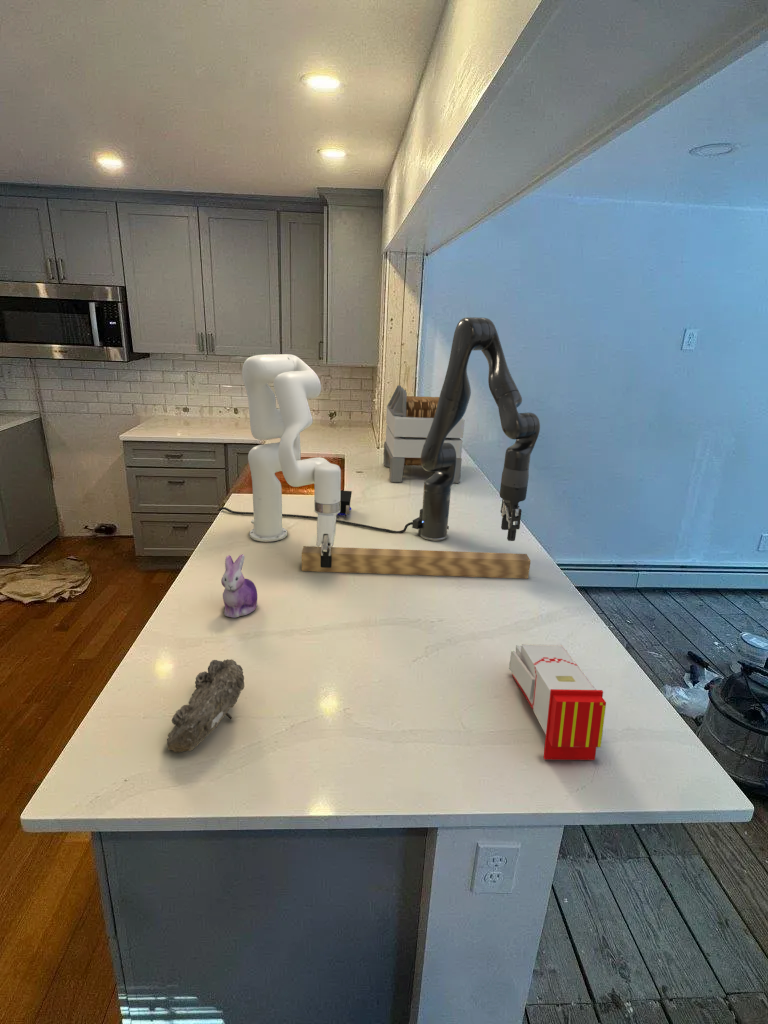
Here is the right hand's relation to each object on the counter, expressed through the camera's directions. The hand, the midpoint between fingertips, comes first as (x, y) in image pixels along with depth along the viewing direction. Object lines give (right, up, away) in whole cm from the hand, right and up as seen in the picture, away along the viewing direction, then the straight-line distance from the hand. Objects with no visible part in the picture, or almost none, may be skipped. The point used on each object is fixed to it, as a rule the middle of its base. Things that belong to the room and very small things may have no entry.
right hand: (507, 534), depth 168 cm
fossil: (-70, -32, -60) cm, 97 cm away
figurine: (-74, -19, -22) cm, 79 cm away
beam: (-27, -11, +4) cm, 30 cm away
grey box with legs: (-20, +26, +107) cm, 112 cm away
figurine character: (-53, +6, +48) cm, 72 cm away
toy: (-4, -33, -54) cm, 63 cm away
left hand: (-54, -8, +2) cm, 55 cm away
